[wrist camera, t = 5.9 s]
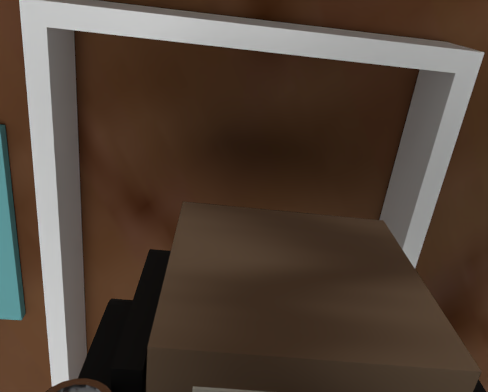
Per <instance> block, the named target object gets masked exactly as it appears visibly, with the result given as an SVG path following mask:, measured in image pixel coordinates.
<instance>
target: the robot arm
mask: <svg viewBox="0 0 488 392" xmlns="http://www.w3.org/2000/svg"><path fill="white" fill-rule="evenodd" d="M170 253H171V251H164V250H153V249H150V250H149V253H148V256H147V259H146V262H145V265H144V268H143V271H142V274H141V277H140V280H139V283H138V287H137V290H136V293H135V296H134V299H133V300H121V299H111V300H110V301H109V303H108V305H107V307H106V310H105V312H104V315H103V317H102V320H101V322H100V324H99V327H98V329H97V332H96V334H95V337H94V339H93V342H92V344H91V347H90V349H89V352H88V354H87V357H86V359H85V362H84V364H83V367H82V369H81V372H80V374H79V376H78V379H72V380H68V381H64V382H61V383H59V384H57V385H55V386H53V387H51V388H49V389H48V390H47V391H46V392H146V374H147V347H148V343H149V339H150V334H151V330H152V326H153V322H154V318H155V314H156V310H157V306H158V302H159V298H160V294H161V290H162V286H163V281H164V277H165V273H166V269H167V265H168V261H169V257H170ZM473 392H486V391H485V389H484V388H483V386H482V384H481V383H480V381H479V380H478V381H477V383H476V386H475V388H474V391H473Z"/></svg>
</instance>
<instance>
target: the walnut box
mask: <svg viewBox="0 0 488 392" xmlns="http://www.w3.org/2000/svg"><path fill="white" fill-rule="evenodd" d="M480 374H481V370H480V369H479V367H478V366H477V364H476V363H475V361H474V359H473V358H472V356H471V355H470V353H469V352H468V350H467V349H466V347H465V346H464V344H463V342H462V341H461V339H460V338H459V336H458V335H457V333H456V332H455V330H454V329H453V327H452V325H451V324H450V322H449V321H448V319H447V318H446V316H445V315H444V313H443V312H442V310H441V308H440V307H439V305H438V304H437V302H436V301H435V299H434V298H433V296H432V295H431V293H430V291H429V290H428V288H427V287H426V285H425V284H424V282H423V281H422V279H421V278H420V276H419V274H418V273H417V271H416V270H415V268H414V267H413V265H412V264H411V262H410V261H409V259H408V257H407V256H406V254H405V253H404V251H403V250H402V248H401V247H400V245H399V244H398V242H397V240H396V239H395V237H394V236H393V234H392V233H391V231H390V230H389V228H388V227H387V225H386V224H385V222H384V221H383V220H372V219H362V218H351V217H341V216H330V215H319V214H309V213H298V212H288V211H277V210H266V209H256V208H245V207H235V206H224V205H214V204H203V203H192V202H183V204H182V208H181V212H180V216H179V220H178V224H177V228H176V233H175V237H174V241H173V245H172V249H171V253H170V257H169V261H168V265H167V269H166V273H165V277H164V281H163V286H162V290H161V294H160V298H159V302H158V306H157V310H156V314H155V318H154V322H153V326H152V330H151V334H150V339H149V343H148V347H147V374H146V392H473V391H474V388H475V386H476V383H477V381H478V379H479V376H480Z"/></svg>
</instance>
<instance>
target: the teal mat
mask: <svg viewBox="0 0 488 392" xmlns="http://www.w3.org/2000/svg"><path fill="white" fill-rule="evenodd" d="M24 315H25V305H24V295H23V286H22V277H21V268H20V258H19V249H18V240H17V231H16V221H15V212H14V203H13V193H12V184H11V175H10V166H9V156H8V147H7V138H6V129H5V125H0V319H11V320H22V319H23V317H24Z"/></svg>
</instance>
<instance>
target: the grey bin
mask: <svg viewBox="0 0 488 392" xmlns="http://www.w3.org/2000/svg"><path fill="white" fill-rule="evenodd" d="M19 3H20V15H21V27H22V39H23V51H24V62H25V74H26V86H27V98H28V110H29V121H30V133H31V145H32V157H33V169H34V180H35V192H36V204H37V216H38V228H39V239H40V251H41V263H42V275H43V287H44V298H45V310H46V322H47V334H48V346H49V357H50V369H51V381H52V387H53V386H55V385H57V384H59V383H61V382H64V381H68V380H72V379H78V376H79V374H80V372H81V369H82V367H83V364H84V362H85V359H86V357H87V346H86V321H85V295H84V270H83V245H82V220H81V194H80V169H79V144H78V119H77V93H76V68H75V43H74V30H76V31H85V32H94V33H103V34H111V35H120V36H129V37H138V38H147V39H156V40H165V41H173V42H182V43H191V44H200V45H209V46H218V47H227V48H236V49H244V50H253V51H262V52H271V53H280V54H289V55H298V56H306V57H315V58H324V59H333V60H342V61H351V62H360V63H369V64H377V65H386V66H395V67H404V68H413V69H420V70H419V74H418V78H417V81H416V85H415V89H414V93H413V96H412V100H411V104H410V107H409V111H408V115H407V119H406V122H405V126H404V130H403V134H402V137H401V141H400V145H399V148H398V152H397V156H396V160H395V163H394V167H393V171H392V175H391V178H390V182H389V186H388V189H387V193H386V197H385V201H384V204H383V208H382V212H381V216H380V219H379V220H383V221H384V222H385V224H386V225H387V227H388V228H389V230H390V231H391V233H392V234H393V236H394V237H395V239H396V240H397V242H398V244H399V245H400V247H401V248H402V250H403V251H404V253H405V254H406V256H407V257H408V259H409V261H410V262H411V264H412V265H413V267H414V268H415V267H416V264H417V261H418V258H419V255H420V252H421V249H422V246H423V242H424V239H425V236H426V233H427V230H428V227H429V224H430V221H431V218H432V214H433V211H434V208H435V205H436V202H437V199H438V196H439V193H440V190H441V186H442V183H443V180H444V177H445V174H446V171H447V168H448V165H449V162H450V158H451V155H452V152H453V149H454V146H455V143H456V140H457V137H458V134H459V130H460V127H461V124H462V121H463V118H464V115H465V112H466V109H467V106H468V102H469V99H470V96H471V93H472V90H473V87H474V84H475V81H476V78H477V74H478V71H479V68H480V65H481V62H482V59H483V56H484V53H485V52H481V51H478V50H474V49H471V48H467V47H463V46H460V45H456V44H453V43H449V42H444V41H436V40H427V39H419V38H410V37H402V36H394V35H385V34H377V33H368V32H360V31H351V30H343V29H335V28H326V27H318V26H309V25H301V24H292V23H284V22H276V21H267V20H259V19H250V18H242V17H233V16H225V15H217V14H208V13H200V12H191V11H183V10H174V9H166V8H158V7H149V6H141V5H132V4H124V3H115V2H107V1H99V0H19Z"/></svg>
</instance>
